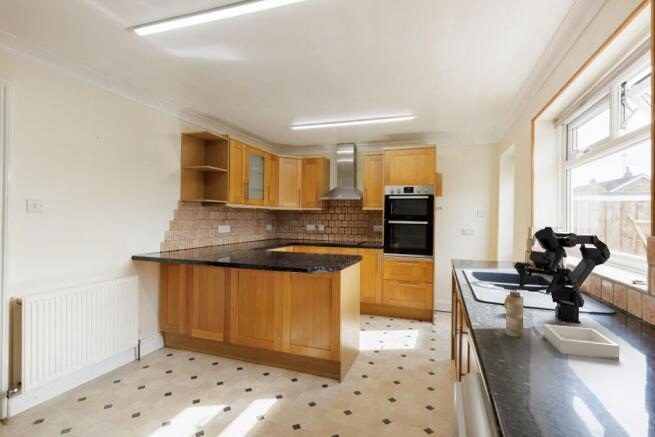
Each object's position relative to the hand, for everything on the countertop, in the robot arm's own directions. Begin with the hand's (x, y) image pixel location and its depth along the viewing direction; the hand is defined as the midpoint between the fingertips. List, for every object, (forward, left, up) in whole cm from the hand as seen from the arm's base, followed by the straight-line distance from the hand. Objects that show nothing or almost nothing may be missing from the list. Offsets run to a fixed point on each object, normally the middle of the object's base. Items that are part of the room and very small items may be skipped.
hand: (533, 290), depth 112 cm
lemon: (+3, -16, -14) cm, 22 cm away
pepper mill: (+8, +8, -14) cm, 18 cm away
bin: (-8, +14, -14) cm, 21 cm away
